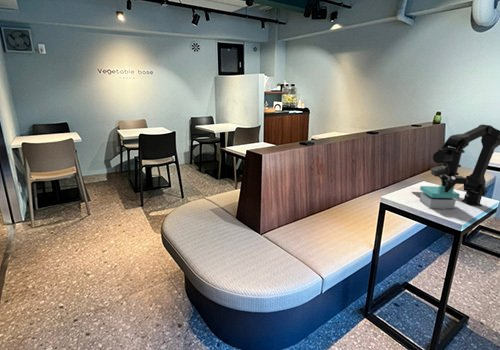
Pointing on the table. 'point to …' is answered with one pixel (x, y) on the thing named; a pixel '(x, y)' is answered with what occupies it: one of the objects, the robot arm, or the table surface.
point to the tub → (437, 202)
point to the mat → (417, 194)
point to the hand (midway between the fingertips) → (445, 191)
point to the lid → (439, 192)
